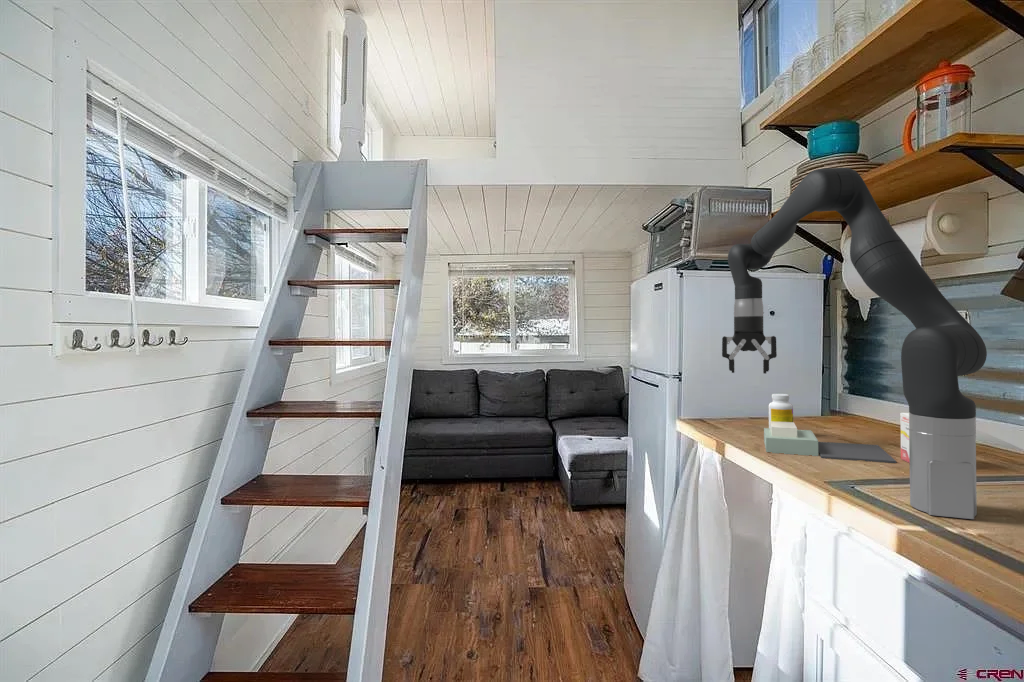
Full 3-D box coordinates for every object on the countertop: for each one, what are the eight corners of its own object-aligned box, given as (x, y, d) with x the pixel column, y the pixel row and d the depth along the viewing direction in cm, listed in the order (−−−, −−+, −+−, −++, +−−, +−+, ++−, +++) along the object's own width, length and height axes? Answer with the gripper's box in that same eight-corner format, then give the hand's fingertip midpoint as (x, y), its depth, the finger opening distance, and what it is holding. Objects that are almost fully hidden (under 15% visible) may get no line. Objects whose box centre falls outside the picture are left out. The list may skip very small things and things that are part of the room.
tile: (797, 437, 135) (797, 428, 135) (771, 436, 138) (771, 427, 138) (793, 431, 143) (793, 422, 143) (770, 429, 146) (769, 421, 146)
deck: (818, 456, 131) (818, 440, 131) (766, 452, 136) (766, 437, 136) (811, 444, 144) (811, 430, 144) (764, 441, 149) (763, 428, 149)
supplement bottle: (797, 439, 151) (796, 396, 151) (773, 438, 152) (772, 396, 152) (788, 434, 158) (788, 393, 157) (765, 434, 159) (765, 393, 158)
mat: (896, 463, 123) (896, 461, 123) (821, 458, 129) (821, 456, 129) (877, 446, 139) (877, 444, 139) (812, 443, 146) (812, 441, 145)
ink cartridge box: (899, 459, 126) (898, 400, 126) (921, 459, 125) (921, 400, 125) (919, 468, 118) (918, 405, 118) (943, 469, 117) (943, 405, 117)
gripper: (720, 315, 143) (721, 373, 143) (777, 314, 137) (778, 374, 137) (721, 315, 150) (722, 371, 150) (776, 314, 144) (776, 372, 144)
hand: (748, 372), depth 144 cm, fingers open, 7 cm apart
